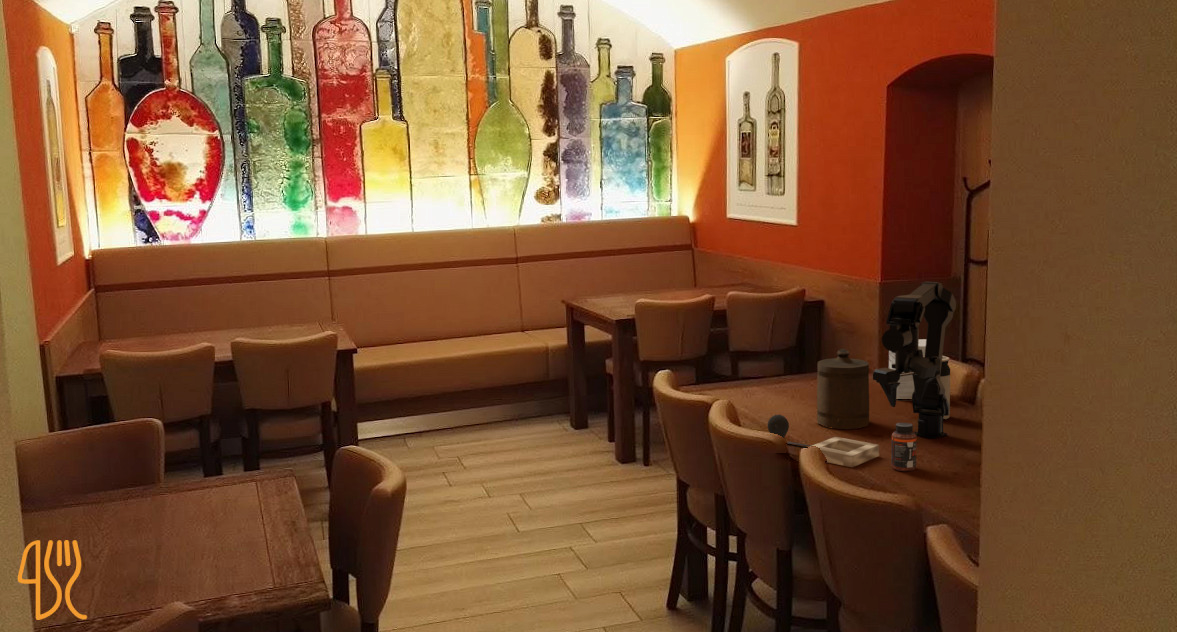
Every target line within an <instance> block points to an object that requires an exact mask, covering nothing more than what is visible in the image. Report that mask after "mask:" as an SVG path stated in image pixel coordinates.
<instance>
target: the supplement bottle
mask: <svg viewBox="0 0 1177 632" xmlns="http://www.w3.org/2000/svg"><path fill="white" fill-rule="evenodd" d="M913 429H914V428H913V424H912V423H910V422H897V423H895V431H893V432H892V434H891V450H890V451H891V452H890V453H891V459H890V461H891V463H890V464H891V468H892V469H894V470H896V471H899V472H911V471H914V470H916V469H917V447H918V445H917V439H918V437H917V436H918V435H916V434H915V433H914V432H915V431H913Z"/></svg>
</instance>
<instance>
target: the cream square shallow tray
mask: <svg viewBox="0 0 1177 632" xmlns="http://www.w3.org/2000/svg"><path fill="white" fill-rule="evenodd" d="M811 446H816V447H818V448H820V450H821V451H822V453H823V454H824V455H825V457H826V459H827V462H826V463H829V464H834V465H838V466H843V467H847V468H854V467H857V466H859V465H861V464H864V463H866V462H868V461H869V462H870V461H871V460H874V459H875V458H877V457H880V444H876V443H872V442H866V441H862V440H861V441H860V440H855V439H851V438H850V439H849V438H844V437H839V436H834V437H831V438H828V439H826V440H823V441H820V442H818V443H815V444H812V445H811ZM811 446H809V447H811Z"/></svg>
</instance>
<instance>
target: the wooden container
mask: <svg viewBox="0 0 1177 632" xmlns="http://www.w3.org/2000/svg"><path fill="white" fill-rule="evenodd" d="M836 354H837V357H833V358H825V359H822V360H818V361H817V364H816V365H817V376H816V377H817V381H816V383H817V385H816V387H817V388H816V423H817V422H818V423H819V424H821V425H824V426H827V427H832V428H831V429H833V428H839V429H838V430H857V428H858V429H862V427H863V428H866V427H868V426H869V425H870V389H869V388H870V387H869V386H870V385H869V384H870V382H869V381H870V380H869V378H870V376H869V374H870V373H869V372H870V364H869V363H870V362H868V361H866V360H865V359H864V360H863V359H859V358H850V357H849V355H850V351H849V350H847V349H846V348H841V349H839V350H837V352H836ZM818 423H817V424H818ZM819 424H818V425H819ZM821 425H820V426H821ZM824 426H823V427H824ZM827 427H826V428H827Z"/></svg>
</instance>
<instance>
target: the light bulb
mask: <svg viewBox="0 0 1177 632" xmlns="http://www.w3.org/2000/svg"><path fill="white" fill-rule="evenodd" d="M789 428H790V424H789V421H788V419H787V418H786V417H785V416H784V415H782V414H774V415H772V416H771V417H770V418H769V419H768V421H767V430H768V432H769V434H770V433H774V434H778V435H780V436H782V437H783V438H784V439H785V437H786V435H787V433H788V431H789Z"/></svg>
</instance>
